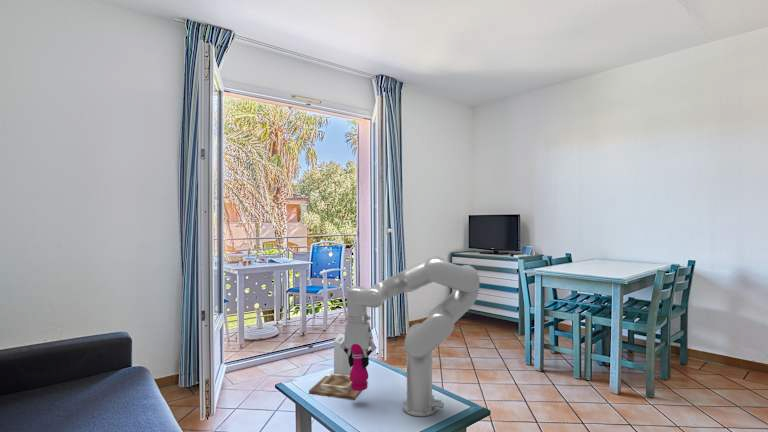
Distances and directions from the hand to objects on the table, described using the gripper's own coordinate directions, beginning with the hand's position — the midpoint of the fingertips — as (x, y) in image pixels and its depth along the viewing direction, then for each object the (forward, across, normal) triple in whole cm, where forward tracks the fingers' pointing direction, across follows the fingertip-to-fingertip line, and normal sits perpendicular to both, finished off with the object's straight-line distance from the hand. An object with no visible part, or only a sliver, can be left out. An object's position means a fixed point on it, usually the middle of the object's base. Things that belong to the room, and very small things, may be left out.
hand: (358, 365), depth 152 cm
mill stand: (+14, +13, -11) cm, 22 cm away
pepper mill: (+9, 0, 0) cm, 9 cm away
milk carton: (+15, +17, -27) cm, 35 cm away
